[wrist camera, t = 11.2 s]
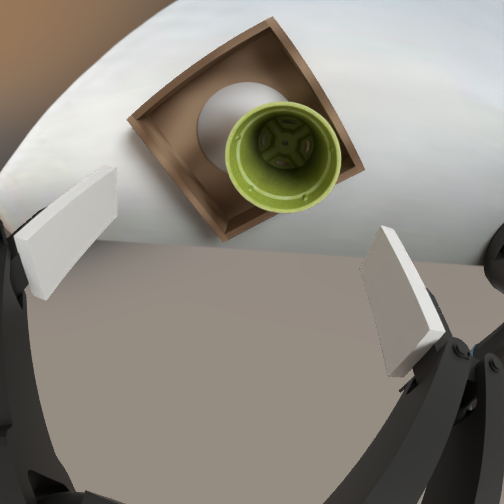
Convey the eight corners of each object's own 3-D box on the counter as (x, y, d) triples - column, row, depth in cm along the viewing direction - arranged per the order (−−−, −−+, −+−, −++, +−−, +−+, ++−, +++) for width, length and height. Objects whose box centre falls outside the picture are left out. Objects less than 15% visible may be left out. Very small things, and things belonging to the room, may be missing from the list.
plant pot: (335, 107, 27) (350, 112, 19) (322, 189, 31) (329, 221, 24) (247, 96, 27) (228, 96, 20) (240, 177, 32) (222, 205, 25)
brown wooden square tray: (355, 157, 31) (365, 169, 27) (228, 223, 38) (222, 242, 34) (273, 24, 23) (272, 16, 19) (143, 112, 30) (126, 119, 26)
